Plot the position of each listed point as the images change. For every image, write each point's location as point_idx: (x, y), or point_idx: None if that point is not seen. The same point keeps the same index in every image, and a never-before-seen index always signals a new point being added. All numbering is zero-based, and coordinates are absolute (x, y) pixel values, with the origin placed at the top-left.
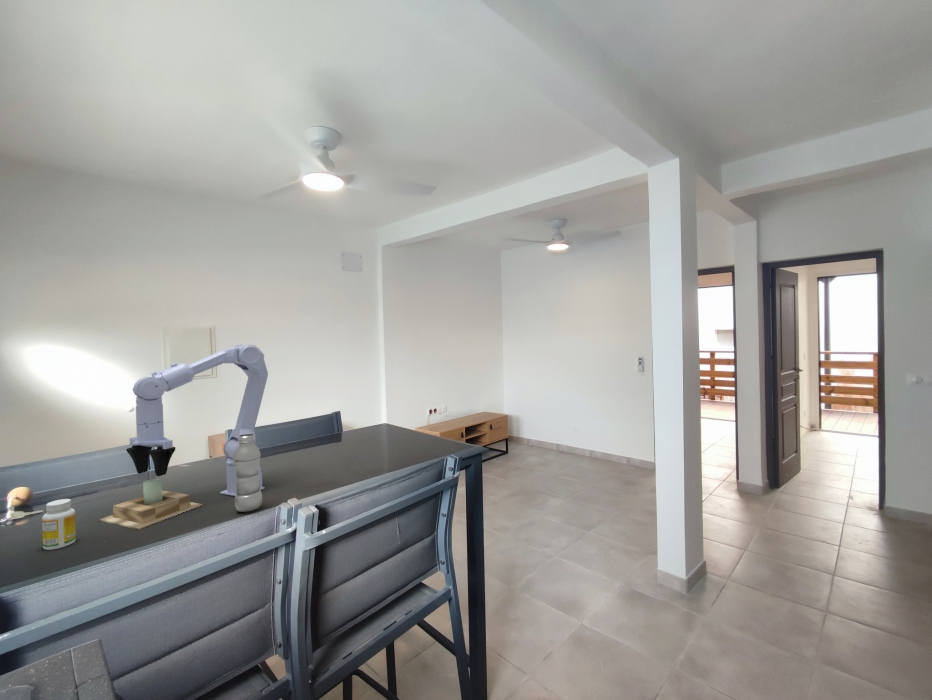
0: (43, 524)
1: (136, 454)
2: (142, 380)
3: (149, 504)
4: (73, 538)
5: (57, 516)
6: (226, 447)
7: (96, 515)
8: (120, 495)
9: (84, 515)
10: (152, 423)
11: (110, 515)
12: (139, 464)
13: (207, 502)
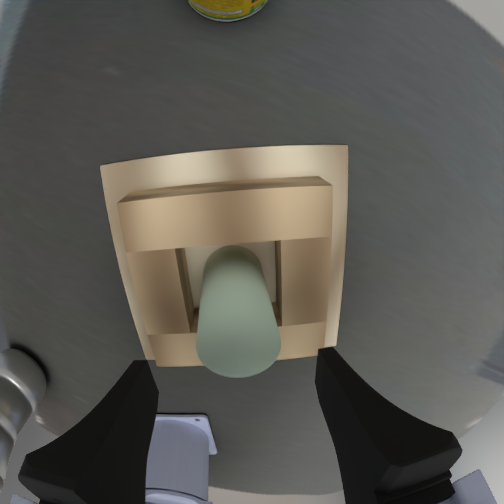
0: None
1: (363, 447)
2: None
3: (212, 267)
4: (193, 6)
5: None
6: None
7: (408, 172)
8: (481, 293)
9: (441, 160)
10: None
11: (347, 182)
12: (336, 393)
13: (166, 374)
